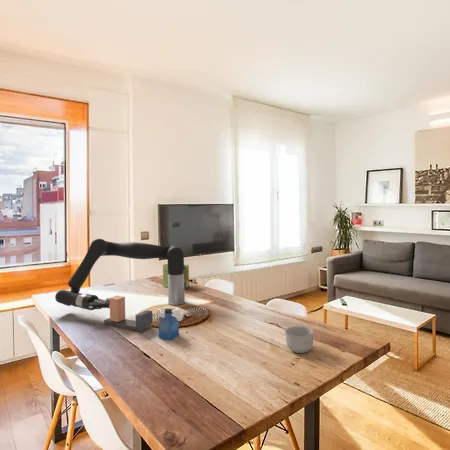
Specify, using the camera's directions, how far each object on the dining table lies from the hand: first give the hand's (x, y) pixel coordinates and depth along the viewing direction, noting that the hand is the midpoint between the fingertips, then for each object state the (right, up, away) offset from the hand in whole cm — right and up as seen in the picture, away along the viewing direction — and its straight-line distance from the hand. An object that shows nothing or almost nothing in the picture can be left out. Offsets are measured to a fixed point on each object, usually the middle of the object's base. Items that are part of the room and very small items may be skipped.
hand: (111, 306), depth 168 cm
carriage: (+3, -6, -1) cm, 7 cm away
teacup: (+85, -10, -31) cm, 91 cm away
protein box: (+21, -4, +73) cm, 76 cm away
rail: (+9, -9, -4) cm, 13 cm away
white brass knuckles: (+28, -8, +9) cm, 31 cm away
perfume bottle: (+31, -10, -17) cm, 36 cm away
